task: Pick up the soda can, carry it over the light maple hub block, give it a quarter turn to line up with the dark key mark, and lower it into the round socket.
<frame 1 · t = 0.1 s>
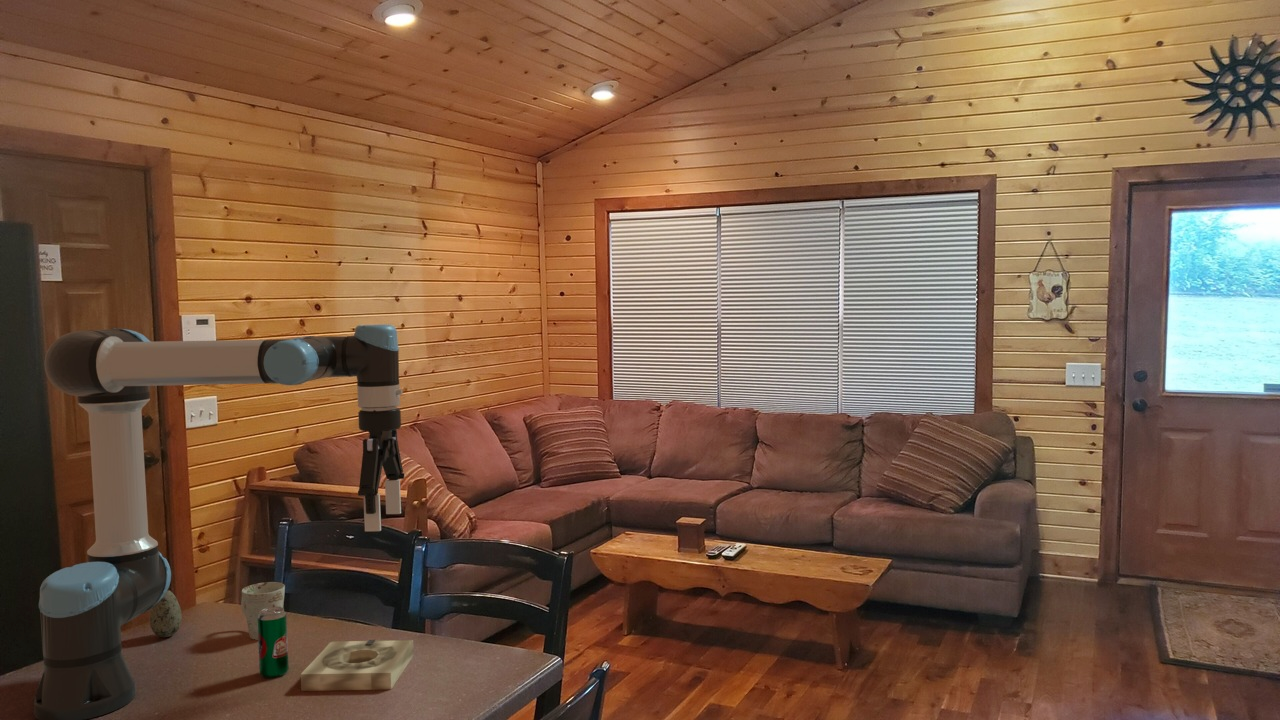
hand: (383, 522, 173), 28 cm above the table, fingers open, 13 cm apart
decorative egg: (166, 637, 194), on the table
mug: (259, 634, 195), on the table
hub block: (360, 672, 173), on the table
soda can: (274, 674, 173), on the table
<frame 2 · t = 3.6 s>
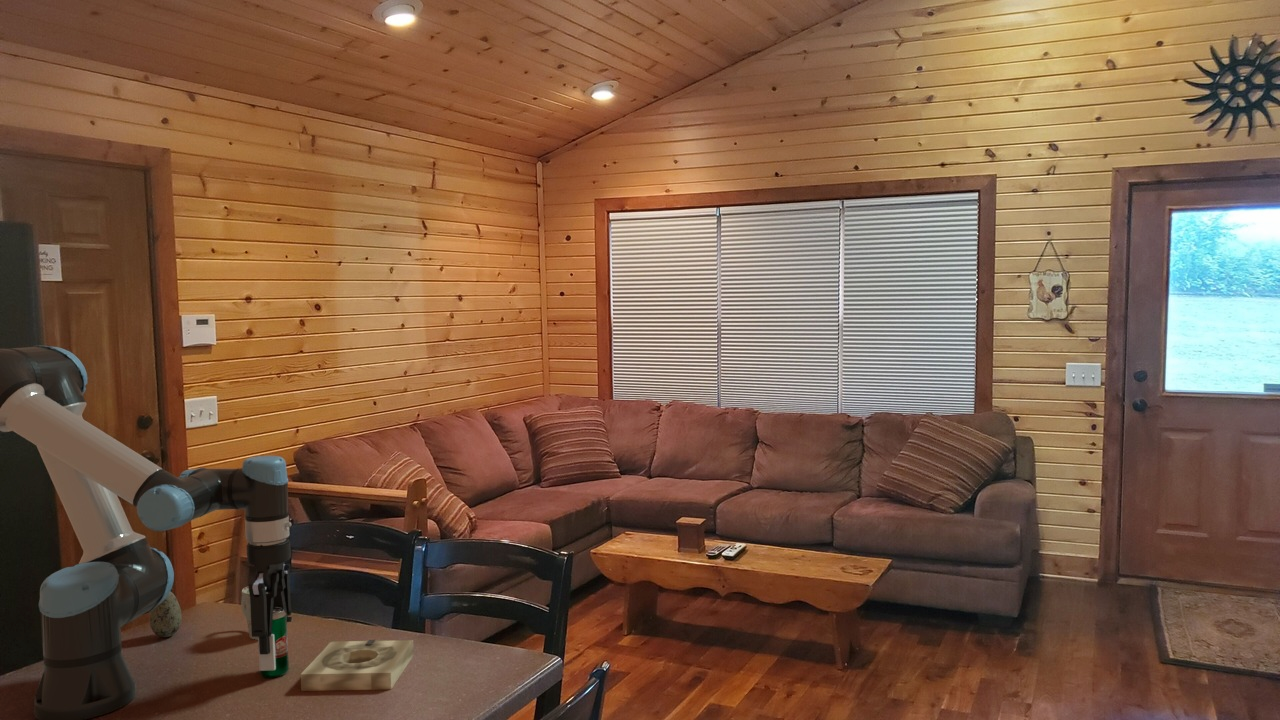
hand: (274, 663, 173), 2 cm above the table, fingers closed on soda can, 5 cm apart
soda can: (274, 674, 173), on the table, touching gripper
everything else where it was.
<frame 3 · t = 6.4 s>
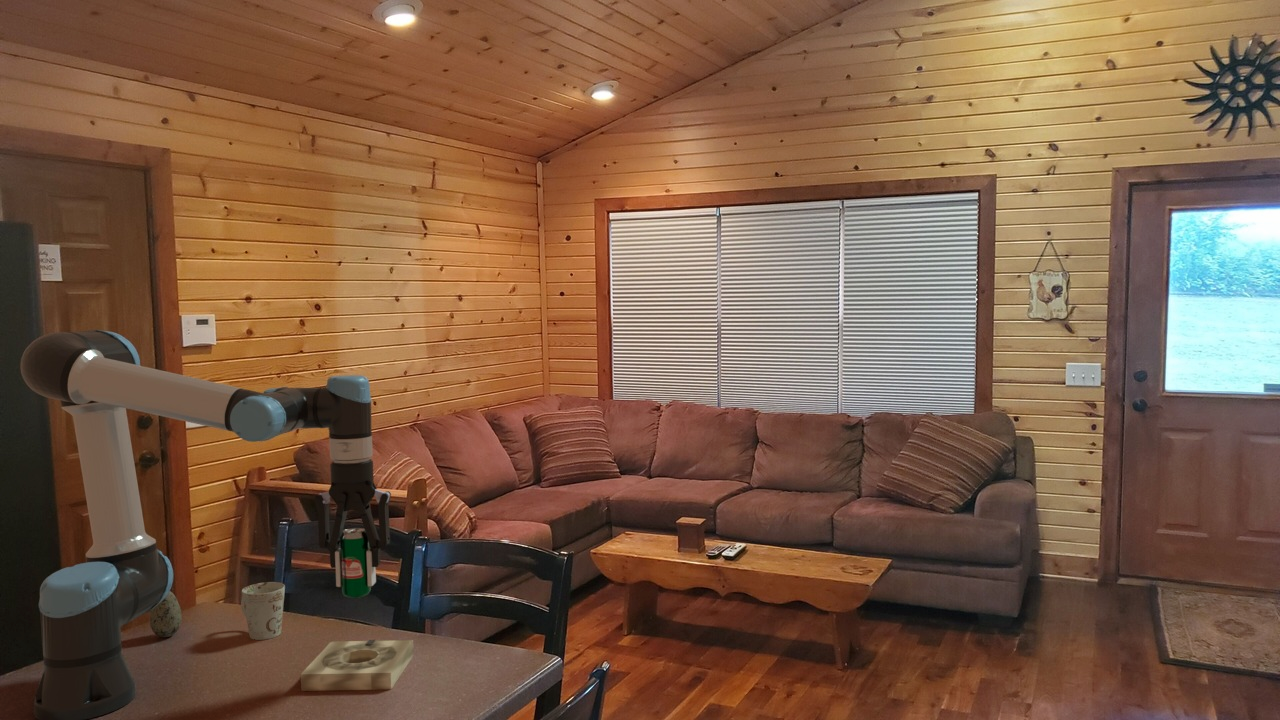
hand: (356, 584, 172), 17 cm above the table, fingers closed on soda can, 5 cm apart
soda can: (356, 595, 172), point 15 cm above the table, touching gripper
everything else where it was.
when the fingers open (4 cm above the table, at t = 9.4 s): soda can drops 3 cm, resting in hub block.
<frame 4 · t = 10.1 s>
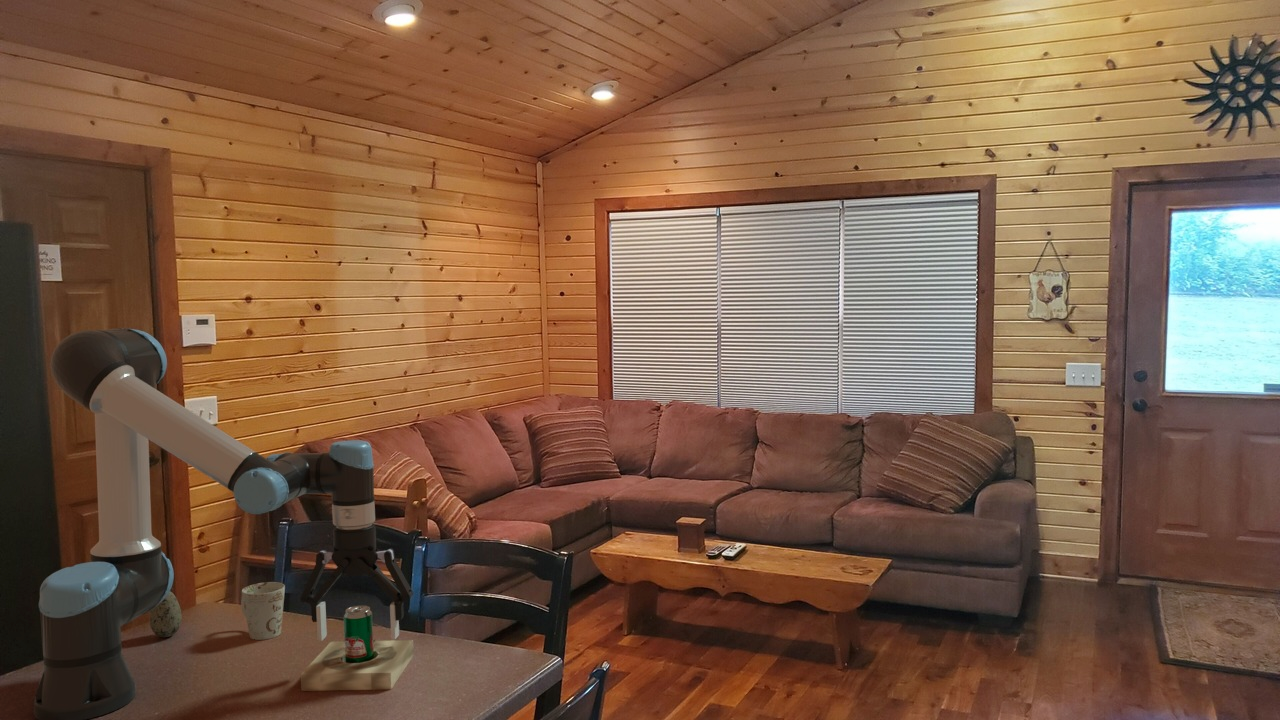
hand: (358, 638, 173), 6 cm above the table, fingers open, 13 cm apart
soda can: (360, 673, 173), resting in hub block
everything else where it was.
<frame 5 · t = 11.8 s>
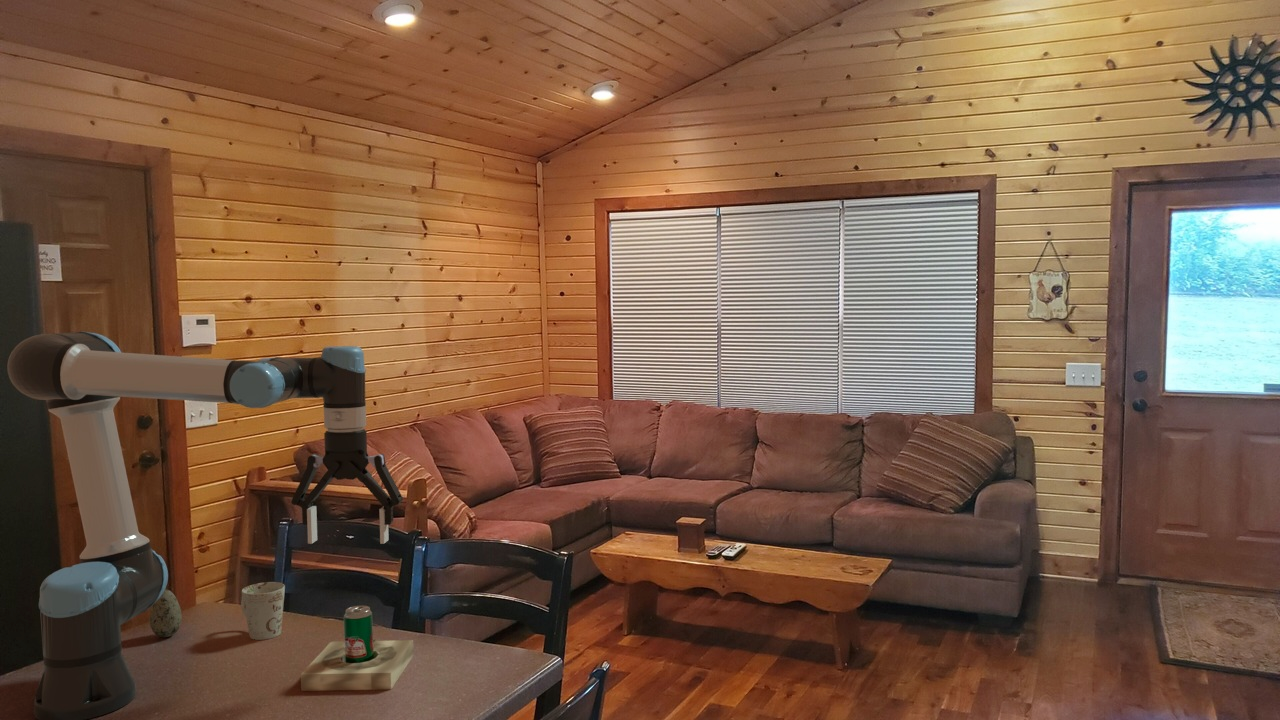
hand: (348, 542, 174), 24 cm above the table, fingers open, 13 cm apart
nothing on the table moved.
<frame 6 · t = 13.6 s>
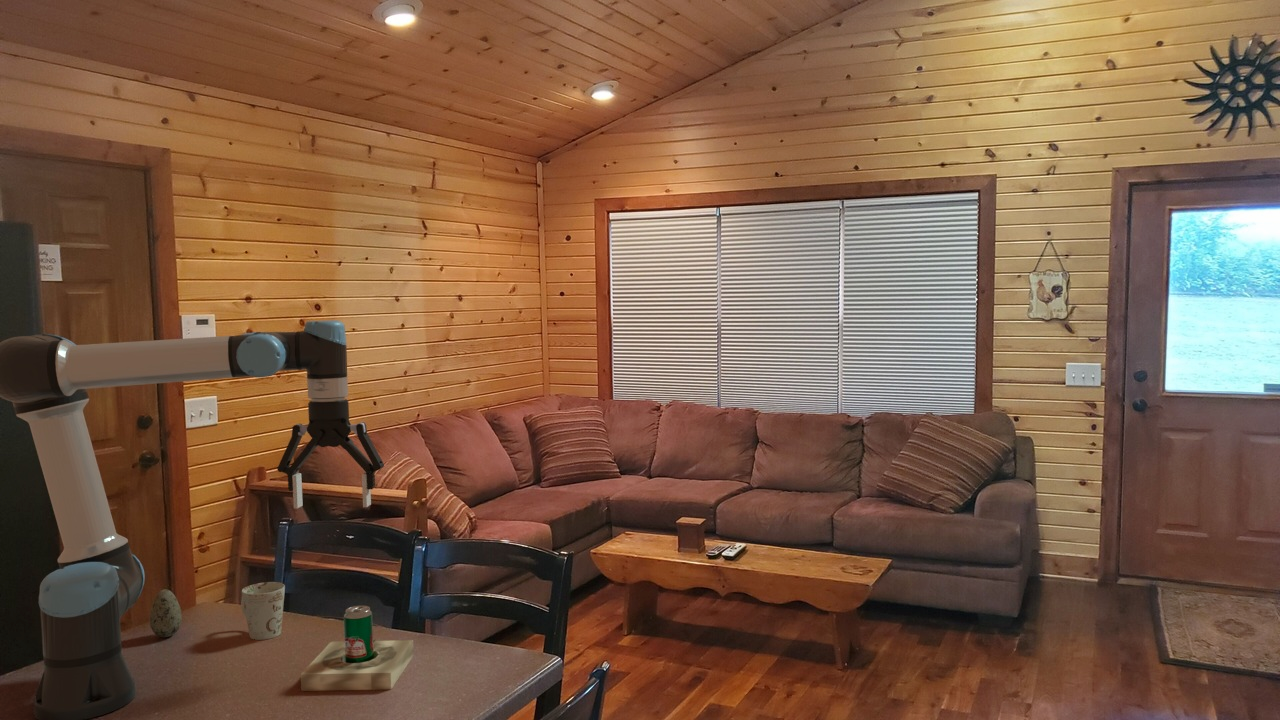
hand: (332, 506, 183), 29 cm above the table, fingers open, 13 cm apart
nothing on the table moved.
at the end: soda can 0.0 cm from the hub block (horizontally); soda can tilted 0°; soda can touching table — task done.
